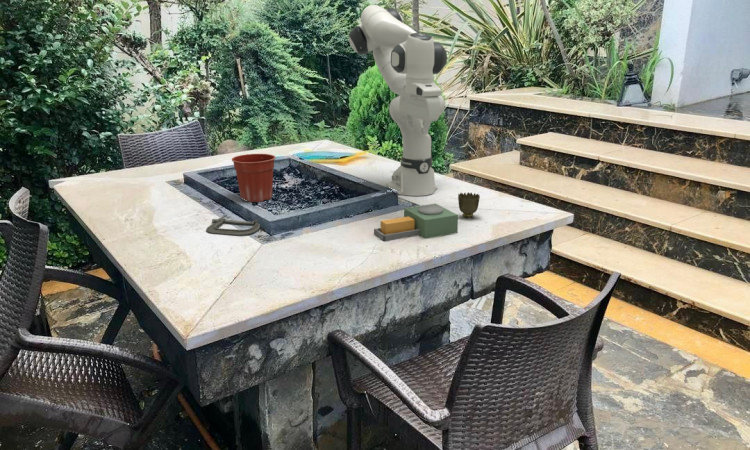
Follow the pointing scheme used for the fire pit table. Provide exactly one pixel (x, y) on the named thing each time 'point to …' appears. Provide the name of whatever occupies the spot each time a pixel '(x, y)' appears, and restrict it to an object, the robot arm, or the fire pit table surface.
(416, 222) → the box with open drawer
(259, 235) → the fire pit table surface
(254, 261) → the fire pit table surface
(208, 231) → the c clamp
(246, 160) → the flower pot
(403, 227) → the orange rectangular block
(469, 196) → the cup
